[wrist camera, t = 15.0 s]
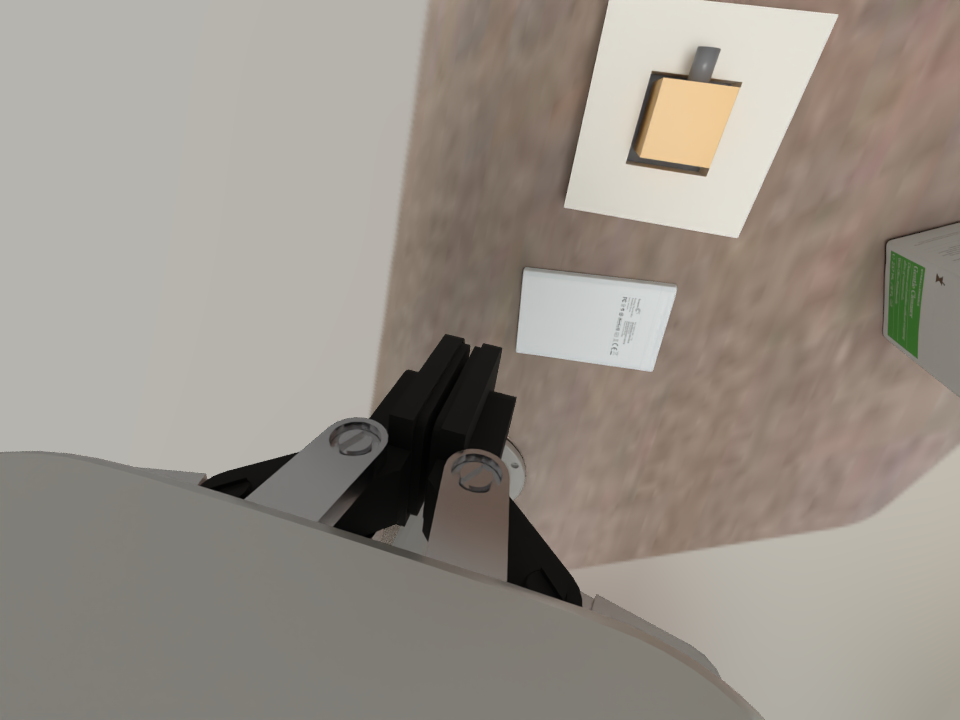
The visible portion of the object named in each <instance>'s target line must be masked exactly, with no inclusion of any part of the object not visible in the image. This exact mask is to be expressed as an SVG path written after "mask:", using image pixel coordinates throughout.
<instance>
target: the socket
mask: <svg viewBox="0 0 960 720" xmlns="http://www.w3.org/2000/svg"><path fill="white" fill-rule="evenodd" d="M837 17H838V14H828V13H819V12H809V11H799V10H790V9H780V8H771V7H761V6H752V5H742V4H732V3H723V2H713V1H704V0H609V3H608V8H607V12H606V17H605V21H604V26H603V30H602V35H601V40H600V44H599V49H598V53H597V58H596V62H595V67H594V72H593V76H592V81H591V85H590V90H589V94H588V99H587V104H586V108H585V113H584V117H583V122H582V126H581V131H580V136H579V140H578V145H577V149H576V154H575V158H574V163H573V168H572V172H571V177H570V181H569V186H568V190H567V195H566V200H565V204H564V208H569V209H575V210H581V211H586V212H592V213H598V214H603V215H609V216H615V217H620V218H626V219H632V220H637V221H643V222H649V223H654V224H660V225H666V226H671V227H677V228H683V229H688V230H694V231H700V232H705V233H711V234H717V235H722V236H728V237H734V238H738V236H739V234H740V232H741V230H742V227H743V225H744V223H745V221H746V219H747V216H748V214H749V212H750V210H751V207H752V205H753V203H754V201H755V199H756V196H757V194H758V192H759V190H760V188H761V185H762V183H763V181H764V179H765V177H766V174H767V172H768V170H769V168H770V165H771V163H772V161H773V159H774V157H775V154H776V152H777V150H778V148H779V146H780V143H781V141H782V139H783V137H784V135H785V132H786V130H787V128H788V126H789V123H790V121H791V119H792V117H793V115H794V112H795V110H796V108H797V106H798V104H799V101H800V99H801V97H802V95H803V92H804V90H805V88H806V86H807V84H808V81H809V79H810V77H811V75H812V73H813V70H814V68H815V66H816V64H817V62H818V59H819V57H820V55H821V53H822V50H823V48H824V46H825V44H826V42H827V39H828V37H829V35H830V33H831V31H832V28H833V26H834V24H835V22H836V19H837ZM699 46H707V47H716V48H720V49H721V51H720V54H719V57H718V60H717V62H716V65H715V68H714V71H713V74H712V77H711V80H710V84H718V85H725V86H733V87H740V89H739V92H738V95H737V97H736V100H735V103H734V105H733V108H732V110H731V113H730V116H729V118H728V121H727V124H726V126H725V129H724V131H723V134H722V137H721V139H720V142H719V144H718V147H717V150H716V152H715V155H714V158H713V160H712V163H711V165H710V168H705V167H698V166H692V165H686V164H679V163H673V162H667V161H660V160H654V159H647V158H641V157H639V155H638V154H637V153H636V152H635V150H634V146H635V143H636V139H637V136H638V132H639V129H640V125H641V122H642V118H643V115H644V111H645V108H646V104H647V101H648V97H649V94H650V90H651V87H652V83H653V82H654V81H656V80H659V79H661V78H663V77H664V78H672V79H679V80H687V78H688V75H689V72H690V69H691V66H692V63H693V60H694V57H695V53H696V50H697V47H699Z"/></svg>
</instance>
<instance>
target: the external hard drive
mask: <svg viewBox="0 0 960 720" xmlns="http://www.w3.org/2000/svg"><path fill="white" fill-rule="evenodd" d="M676 292H677V286H676V284H671V283H662V282H654V281H645V280H637V279H628V278H619V277H610V276H601V275H592V274H583V273H575V272H566V271H557V270H548V269H540V268H531V267H525V268H524V271H523V280H522V291H521V302H520V313H519V323H518V333H517V344H516V352H518V353H525V354H532V355H539V356H546V357H553V358H560V359H567V360H573V361H580V362H587V363H594V364H601V365H608V366H615V367H622V368H629V369H636V370H642V371H649V372H652V371H653V369H654V366H655V362H656V359H657V355H658V352H659V349H660V345H661V342H662V338H663V335H664V332H665V329H666V325H667V322H668V319H669V316H670V312H671V309H672V305H673V302H674V299H675V296H676Z"/></svg>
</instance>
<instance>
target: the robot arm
mask: <svg viewBox="0 0 960 720" xmlns="http://www.w3.org/2000/svg"><path fill="white" fill-rule="evenodd" d="M469 353H470V345H468V344H465V340H464V338H460V337H456V336H452V335H448V334H445V335H444V337H443V338H442V340H441V341H440V342H439V344H438V345H437V347H436V348H435V350H434V351H433V352H432V354H431V355H430V357H429V358H428V360H427V361H426V362H425V364H424V365H423V367H422V368H421V370H420V371H419V372H416V371H412V370H406V371H405V372H404V373H403V375H402V376H401V377H400V379H399V380H398V381H397V383H396V384H395V385H394V387H393V388H392V389H391V391H390V392H389V393H388V394H387V396H386V397H385V398H384V400H383V401H382V402H381V404H380V405H379V406H378V408H377V409H376V410H375V412H374V413H373V414H372V416H371V417H370V418H369V419H367V418H357V417H354V418H347V419H344V420H341V421H338V422H336V423H334V424H333V425H331V426H330V427H328V428H327V429H326V430H325V431H324V432H322V433H321V434H320V435H319V436H318V437H317V438H315V439H314V440H313V441H312V442H311V443H310V444H308V445H307V446H306V447H305V448H304V449H303V450H302V451H300V452H298V453H294V454H290V455H286V456H282V457H279V458H275V459H271V460H267V461H263V462H260V463H256V464H253V465H248V466H244V467H241V468H237V469H233V470H229V471H226V472H223V473H220V474H218V475H215V476H213V477H211V478H210V479H207V476H206V474H204V473H194V472H183V471H172V470H159V469H150V468H138V467H132V466H128V465H124V464H120V463H116V462H111V461H107V460H103V459H99V458H93V457H87V456H81V455H75V454H68V453H55V452H43V451H22V452H0V720H765V719H764V718H763V717H762V716H761V715H760V714H759V712H758V711H757V710H756V709H754V708H753V707H752V706H751V705H750V704H749V703H748V702H747V701H746V700H745V699H744V698H743V697H742V696H741V695H740V694H738V693H737V692H736V691H735V690H734V689H733V688H731V687H730V686H729V685H728V684H726V683H725V682H724V681H723V680H722V679H721V677H720V675H719V673H718V671H717V670H716V668H715V667H714V666H713V665H712V663H711V662H710V661H709V660H708V659H707V657H706V656H705V655H704V654H702V653H701V652H700V651H698V650H697V649H695V648H694V647H692V646H691V645H690V644H688V643H686V642H684V641H682V640H680V639H678V638H677V637H675V636H673V635H671V634H669V633H667V632H665V631H664V630H662V629H660V628H658V627H656V626H655V625H653V624H651V623H649V622H647V621H645V620H644V619H642V618H640V617H638V616H636V615H634V614H632V613H631V612H629V611H627V610H625V609H623V608H621V607H619V606H618V605H616V604H614V603H612V602H610V601H609V600H607V599H605V598H603V597H601V596H599V595H596V596H595V598H594V599H593V598H592V597H590V596H588V595H586V594H584V593H583V592H581V591H580V589H579V587H578V585H577V584H576V582H575V580H574V578H573V577H572V576H571V574H570V573H569V572H568V570H567V569H566V568H565V567H564V565H563V564H562V563H561V561H560V560H559V559H558V558H557V556H556V555H555V554H554V552H553V551H552V550H551V549H550V547H549V546H548V545H547V544H546V542H545V541H544V540H543V538H542V537H541V536H540V535H539V533H538V532H537V531H536V529H535V528H534V527H533V526H532V524H531V523H530V522H529V520H528V519H527V518H526V517H525V515H524V514H523V513H522V511H521V510H520V509H519V508H518V506H517V505H516V504H515V503H514V501H513V500H514V499H515V498H517V497H518V495H519V494H520V493H521V491H522V489H523V486H524V483H525V477H526V469H525V465H524V461H523V459H522V457H521V455H520V453H519V452H518V451H517V450H516V448H515V447H514V446H513V445H512V444H511V443H510V442H509V441H508V440H507V436H508V432H509V428H510V424H511V419H512V415H513V411H514V407H515V402H516V397H514V396H510V395H506V394H502V393H498V392H494V389H495V384H496V379H497V373H498V368H499V363H500V358H501V353H502V348H501V347H497V346H493V345H489V344H485V343H483V345H482V347H481V348H480V347H476V346H475V347H474V349H473V351H472V353H471V355H470V357H469ZM395 524H397V525H400V528H399V530H398V532H397V535H396V537H395V539H394V541H393V543H392V545H389V544H385V543H382V542H380V540H381V538H382V536H383V534H384V529H385V528H387V527H390V526H392V525H395Z"/></svg>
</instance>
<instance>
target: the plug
mask: <svg viewBox="0 0 960 720" xmlns="http://www.w3.org/2000/svg"><path fill="white" fill-rule="evenodd" d="M720 51H721V49H720V48H716V47H707V46H699V47H697V50H696V53H695V57H694V60H693V63H692V66H691V69H690V72H689V75H688V78H687V80H679V79H672V78H664V77H663V78H661V79H659V80H656V81H654V82H653V83H652V87H651V90H650V94H649V97H648V101H647V104H646V108H645V111H644V115H643V118H642V122H641V125H640V129H639V132H638V136H637V139H636V143H635V146H634V150H635V152H636V153H637V154H638V155H639V157H641V158H647V159H654V160H660V161H667V162H673V163H679V164H686V165H692V166H698V167H705V168H710V165H711V163H712V160H713V158H714V155H715V152H716V150H717V147H718V144H719V142H720V139H721V137H722V134H723V131H724V129H725V126H726V124H727V121H728V118H729V116H730V113H731V110H732V108H733V105H734V103H735V100H736V97H737V95H738V92H739V89H740V87H733V86H725V85H718V84H710V80H711V77H712V74H713V71H714V68H715V65H716V62H717V60H718V57H719V54H720Z"/></svg>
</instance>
